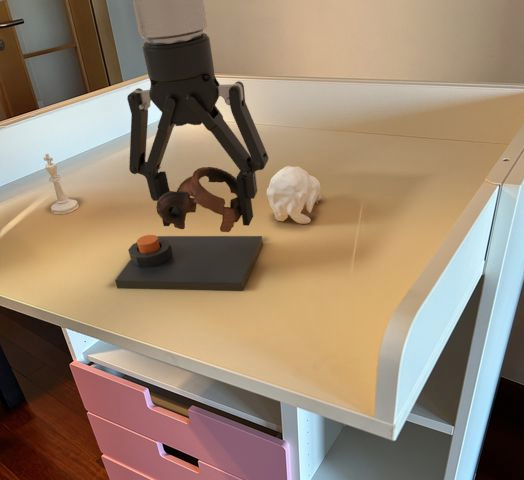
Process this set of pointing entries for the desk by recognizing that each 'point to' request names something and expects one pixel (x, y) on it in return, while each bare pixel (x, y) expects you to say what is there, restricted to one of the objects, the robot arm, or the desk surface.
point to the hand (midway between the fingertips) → (208, 221)
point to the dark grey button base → (192, 263)
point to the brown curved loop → (200, 199)
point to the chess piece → (59, 191)
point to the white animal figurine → (293, 194)
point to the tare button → (148, 244)
